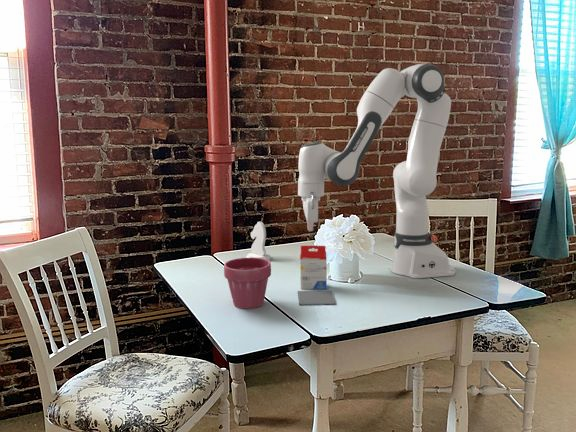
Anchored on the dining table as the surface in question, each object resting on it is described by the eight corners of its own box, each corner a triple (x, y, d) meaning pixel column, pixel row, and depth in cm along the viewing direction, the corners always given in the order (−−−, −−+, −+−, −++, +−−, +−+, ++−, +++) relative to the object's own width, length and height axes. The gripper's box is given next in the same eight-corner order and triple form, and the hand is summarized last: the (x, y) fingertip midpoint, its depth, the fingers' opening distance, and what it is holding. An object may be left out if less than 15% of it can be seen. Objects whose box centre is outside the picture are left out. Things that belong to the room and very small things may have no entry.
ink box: (326, 284, 191) (326, 242, 188) (326, 289, 186) (326, 246, 183) (301, 284, 192) (301, 241, 189) (300, 289, 187) (299, 245, 184)
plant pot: (230, 295, 182) (229, 256, 179) (274, 296, 180) (273, 257, 178) (220, 311, 168) (219, 269, 165) (267, 312, 166) (267, 270, 164)
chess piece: (259, 254, 229) (259, 217, 226) (276, 259, 222) (275, 221, 219) (240, 259, 223) (239, 221, 220) (257, 264, 216) (256, 225, 213)
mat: (331, 291, 184) (331, 290, 184) (335, 304, 172) (335, 303, 172) (297, 292, 184) (297, 291, 184) (299, 305, 172) (299, 304, 172)
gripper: (322, 195, 183) (321, 237, 186) (317, 186, 203) (317, 224, 206) (303, 195, 183) (302, 237, 186) (300, 185, 203) (299, 223, 206)
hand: (310, 230), depth 196 cm, fingers closed
